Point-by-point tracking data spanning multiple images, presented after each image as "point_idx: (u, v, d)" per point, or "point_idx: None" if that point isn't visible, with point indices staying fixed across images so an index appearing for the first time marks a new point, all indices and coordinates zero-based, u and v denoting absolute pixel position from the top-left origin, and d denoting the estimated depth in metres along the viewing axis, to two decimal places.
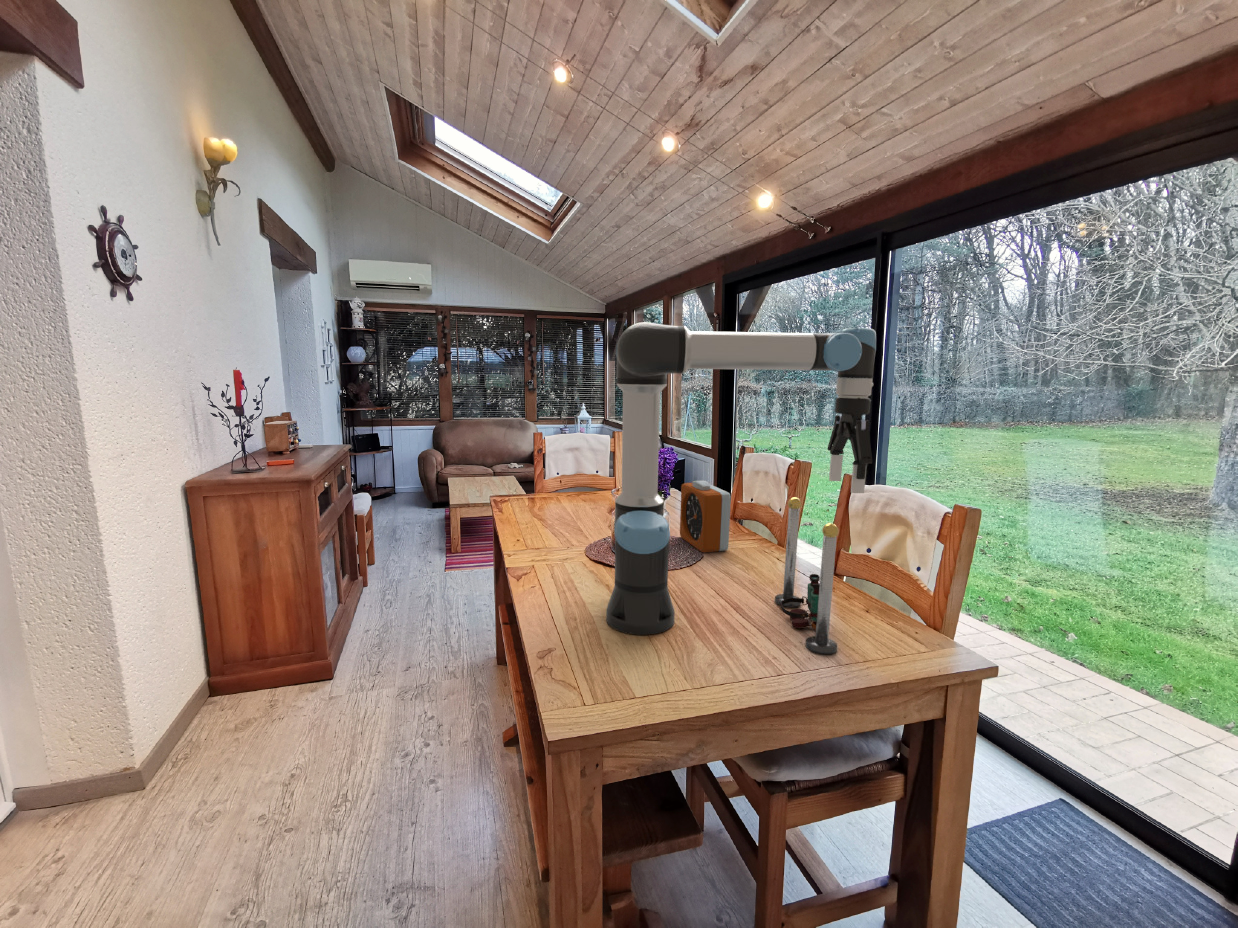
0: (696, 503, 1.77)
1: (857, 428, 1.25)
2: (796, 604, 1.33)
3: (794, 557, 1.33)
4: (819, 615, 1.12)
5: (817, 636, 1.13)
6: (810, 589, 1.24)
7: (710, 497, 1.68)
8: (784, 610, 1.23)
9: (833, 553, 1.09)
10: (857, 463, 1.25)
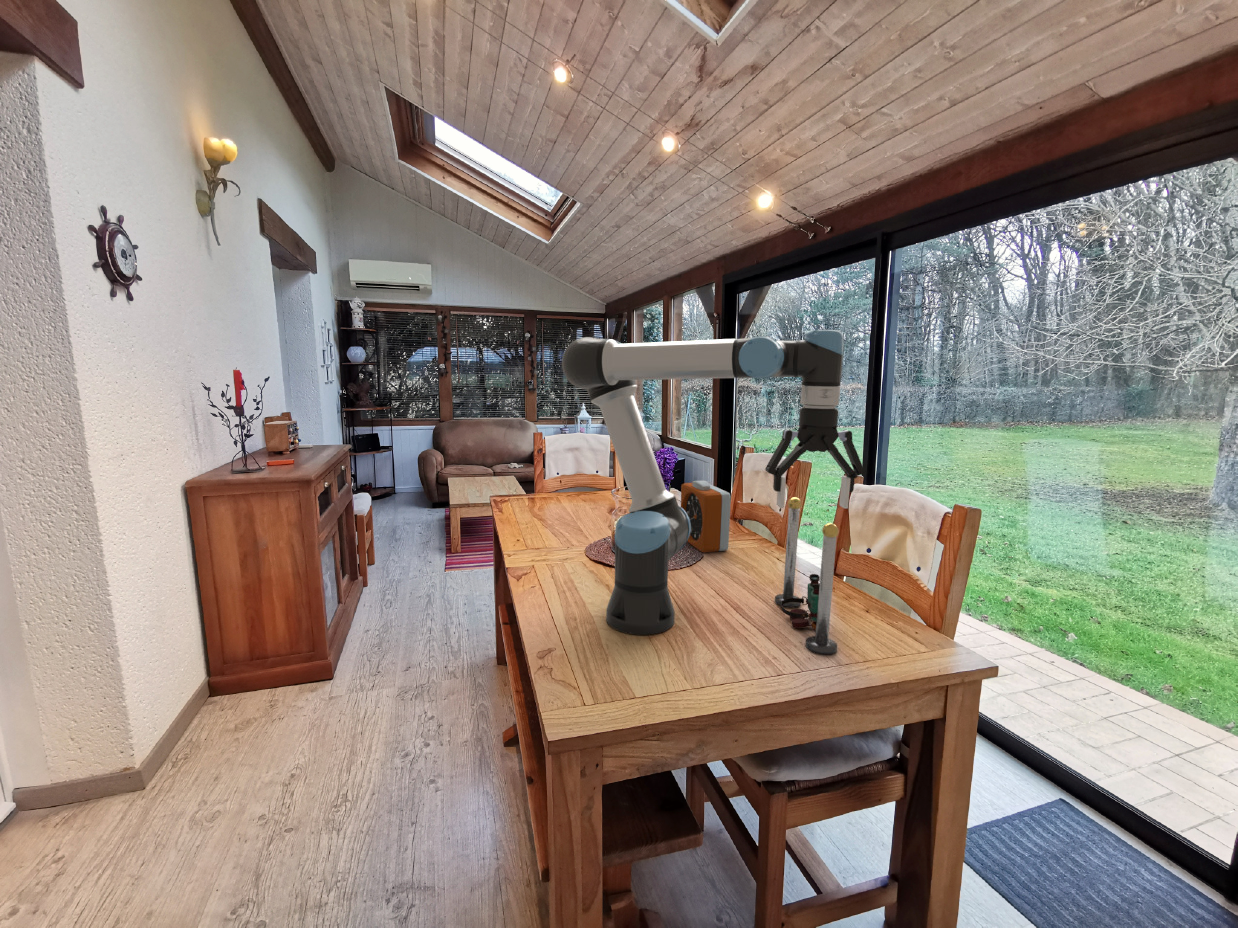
0: (696, 503, 1.77)
1: None
2: (796, 604, 1.33)
3: (794, 557, 1.33)
4: (819, 615, 1.12)
5: (817, 636, 1.13)
6: (810, 589, 1.24)
7: (710, 498, 1.68)
8: (784, 610, 1.23)
9: (833, 553, 1.09)
10: None
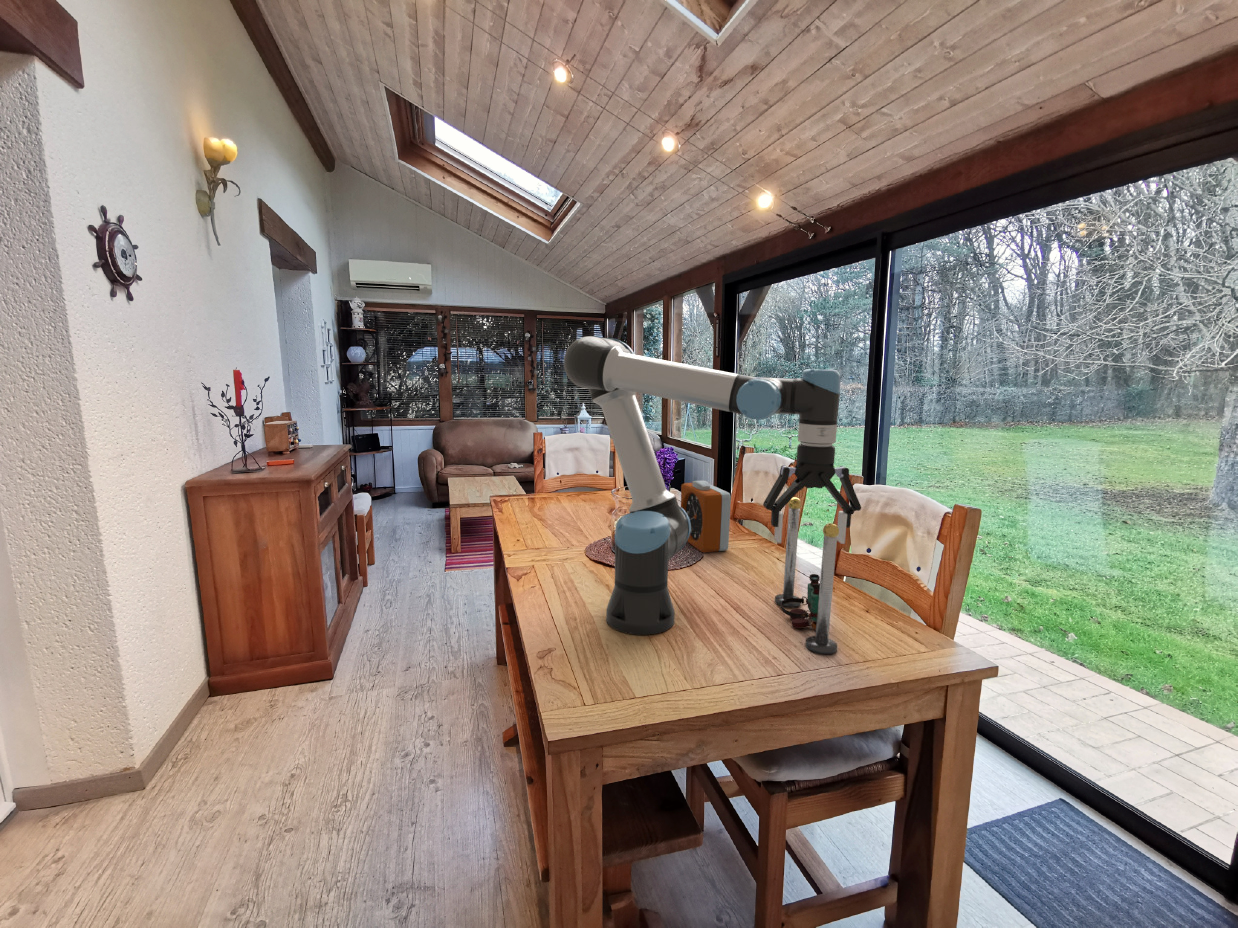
0: (696, 503, 1.77)
1: None
2: (796, 604, 1.33)
3: (794, 557, 1.33)
4: (819, 615, 1.12)
5: (817, 636, 1.13)
6: (810, 589, 1.24)
7: (710, 498, 1.68)
8: (784, 610, 1.23)
9: (833, 553, 1.09)
10: None
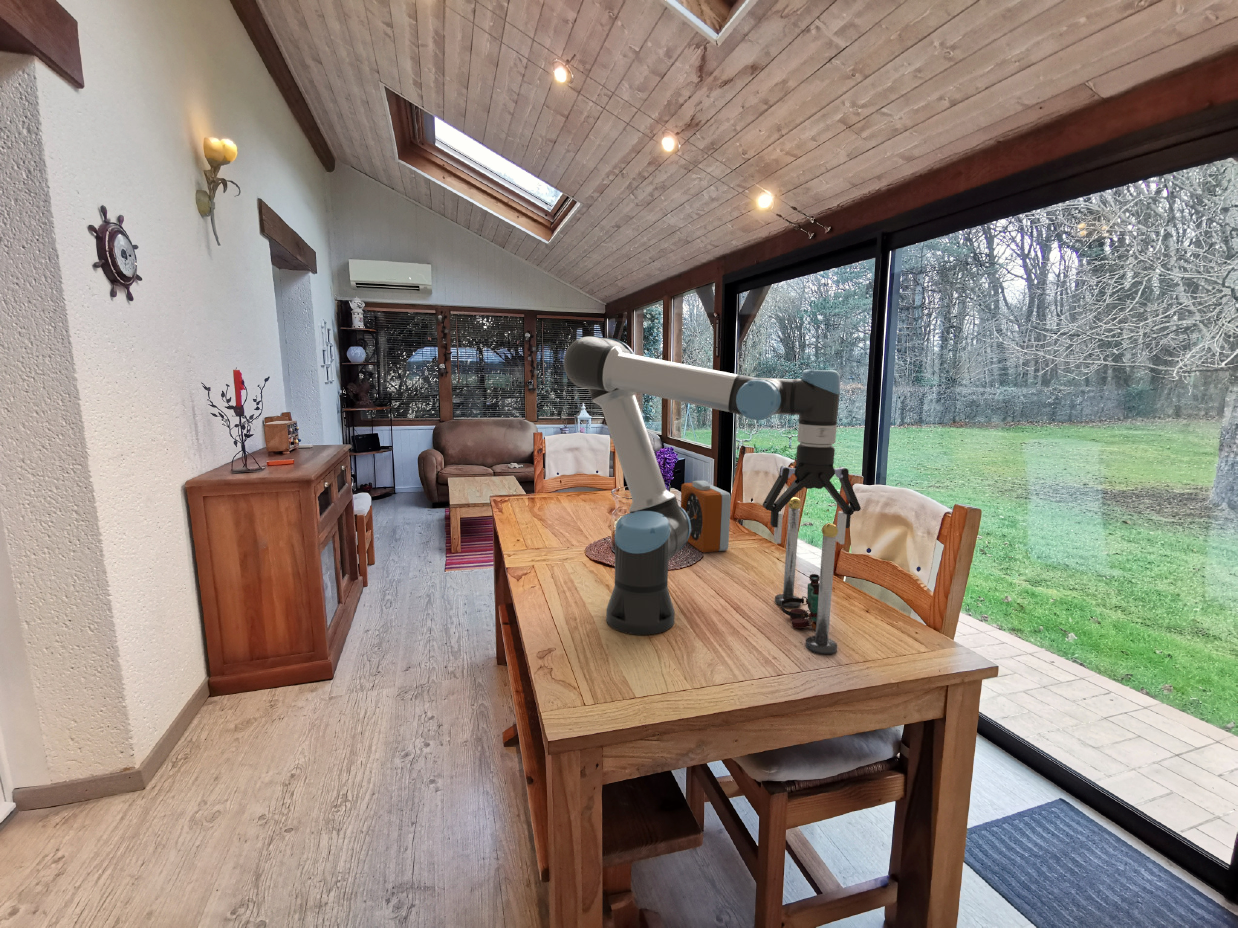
0: (696, 503, 1.77)
1: None
2: (796, 604, 1.33)
3: (794, 557, 1.33)
4: (819, 615, 1.12)
5: (817, 636, 1.13)
6: (810, 589, 1.24)
7: (710, 497, 1.68)
8: (784, 610, 1.23)
9: (832, 553, 1.09)
10: None
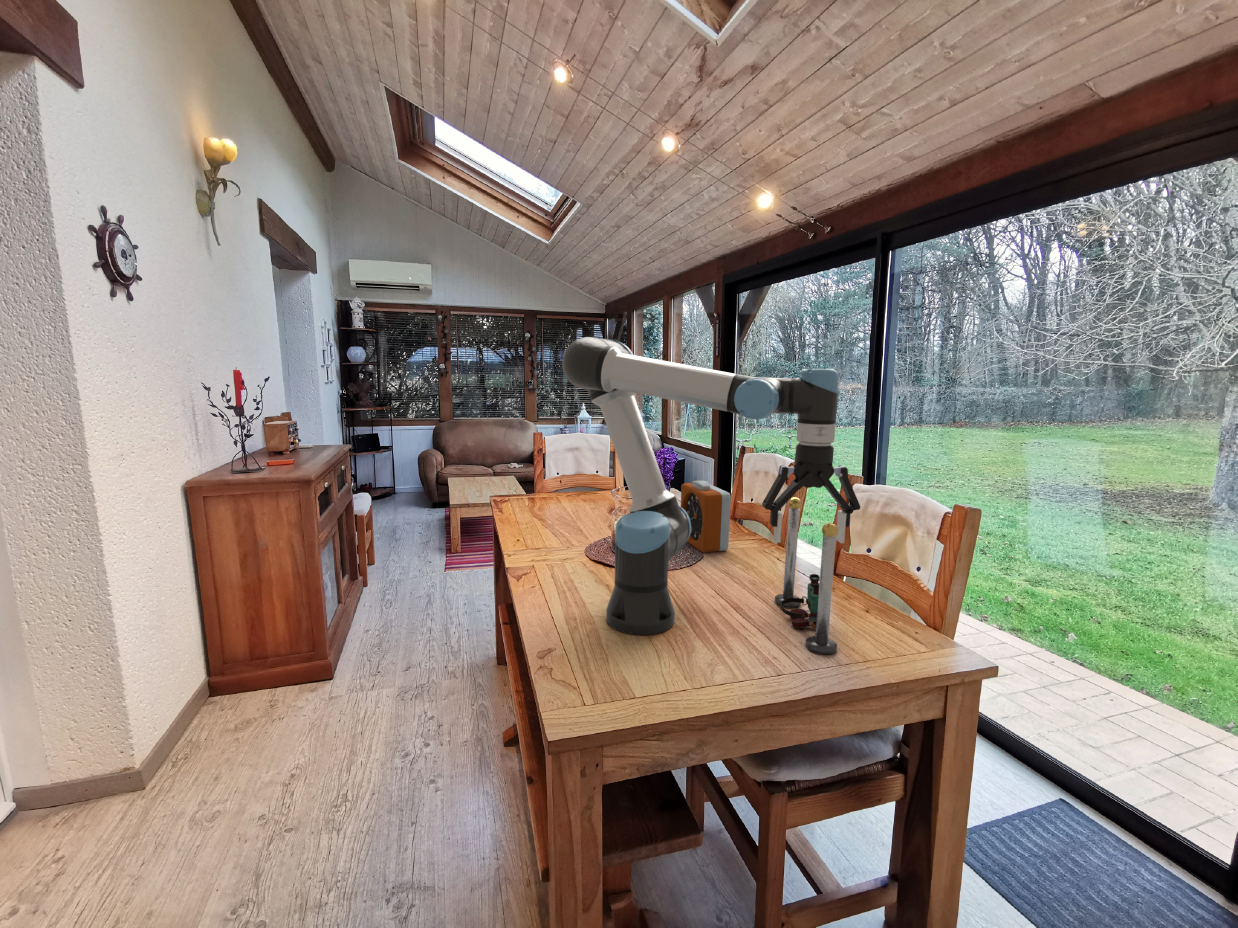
0: (696, 503, 1.77)
1: None
2: (796, 604, 1.33)
3: (794, 557, 1.33)
4: (819, 615, 1.12)
5: (817, 636, 1.13)
6: (810, 589, 1.24)
7: (710, 497, 1.68)
8: (784, 610, 1.23)
9: (833, 553, 1.10)
10: None
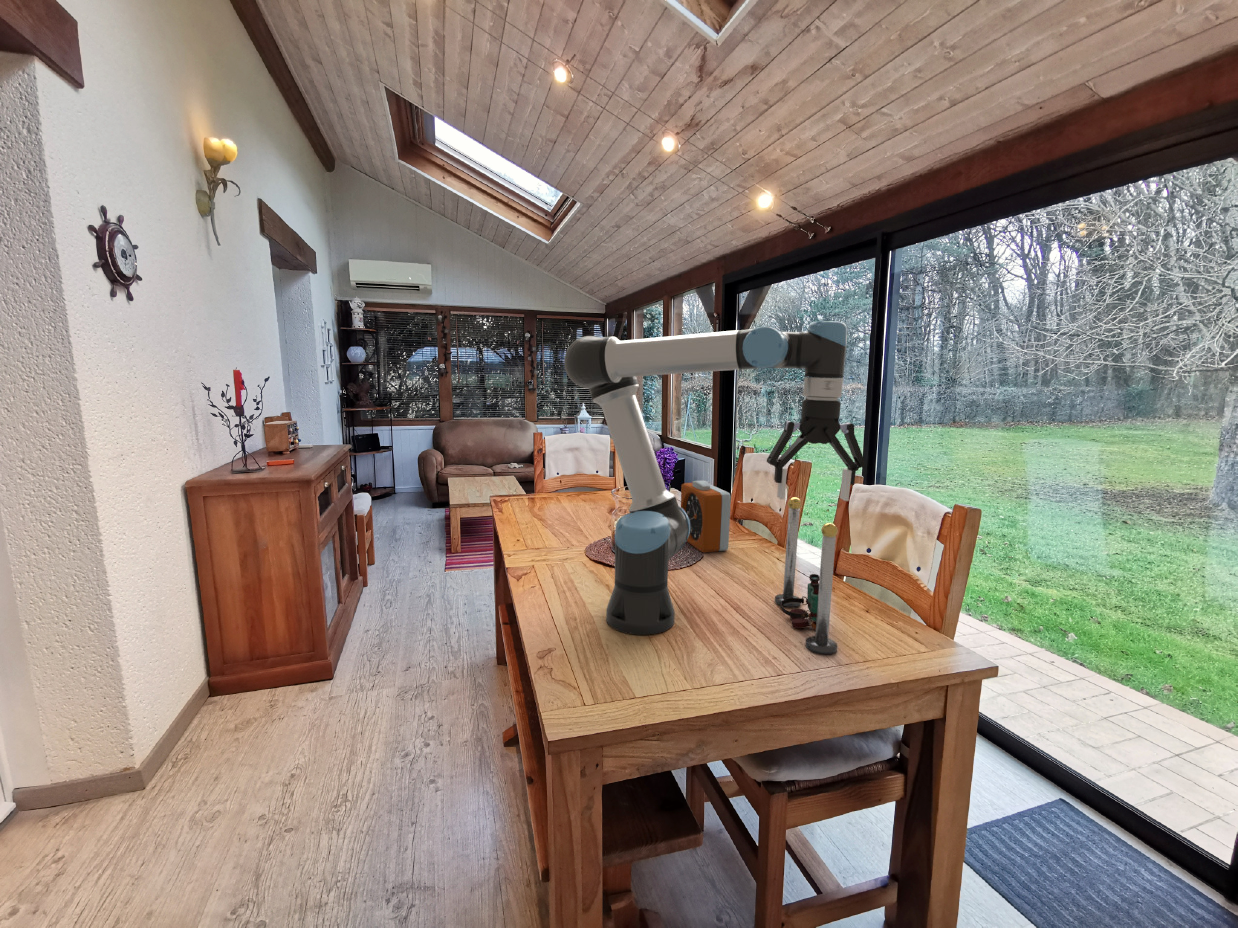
0: (696, 503, 1.77)
1: None
2: (796, 604, 1.33)
3: (794, 557, 1.33)
4: (819, 615, 1.12)
5: (817, 636, 1.13)
6: (810, 589, 1.24)
7: (710, 498, 1.68)
8: (784, 610, 1.23)
9: (832, 553, 1.09)
10: None
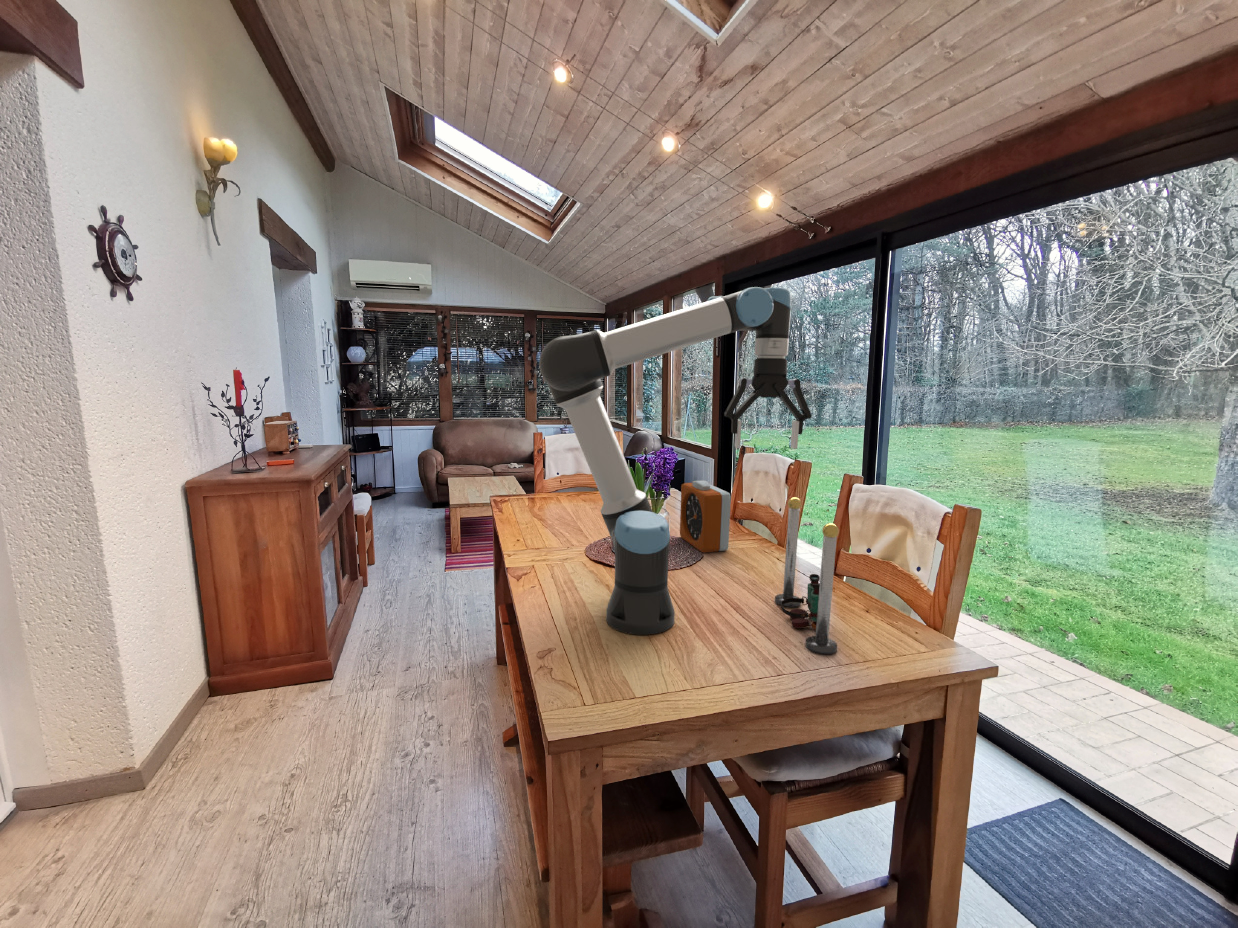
0: (696, 503, 1.77)
1: None
2: (796, 604, 1.33)
3: (794, 557, 1.33)
4: (819, 615, 1.12)
5: (817, 636, 1.13)
6: (810, 589, 1.24)
7: (710, 498, 1.68)
8: (784, 610, 1.23)
9: (833, 553, 1.09)
10: None
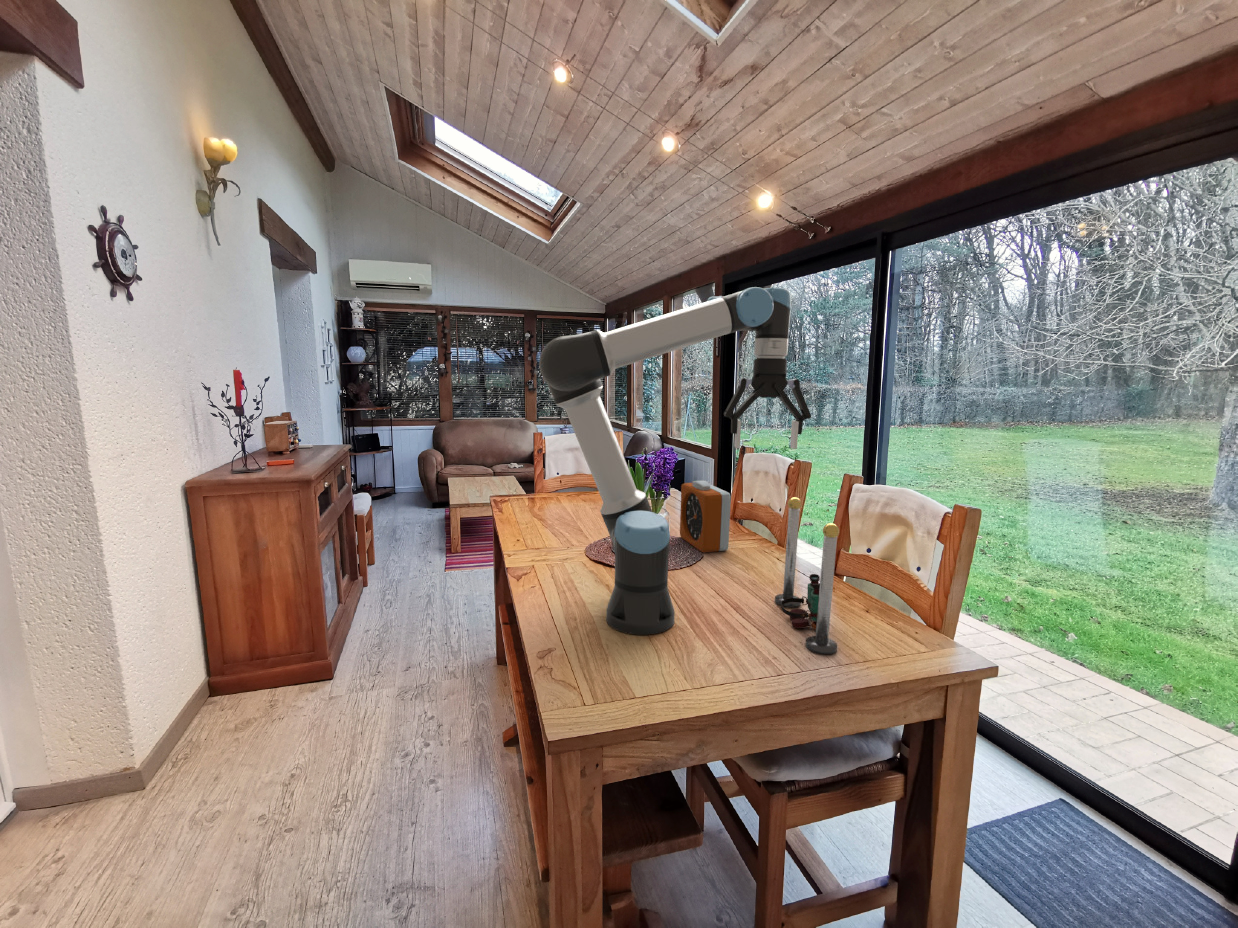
0: (696, 503, 1.77)
1: None
2: (796, 604, 1.33)
3: (794, 557, 1.33)
4: (819, 615, 1.12)
5: (817, 636, 1.13)
6: (810, 589, 1.24)
7: (710, 497, 1.68)
8: (784, 610, 1.23)
9: (833, 553, 1.09)
10: None
